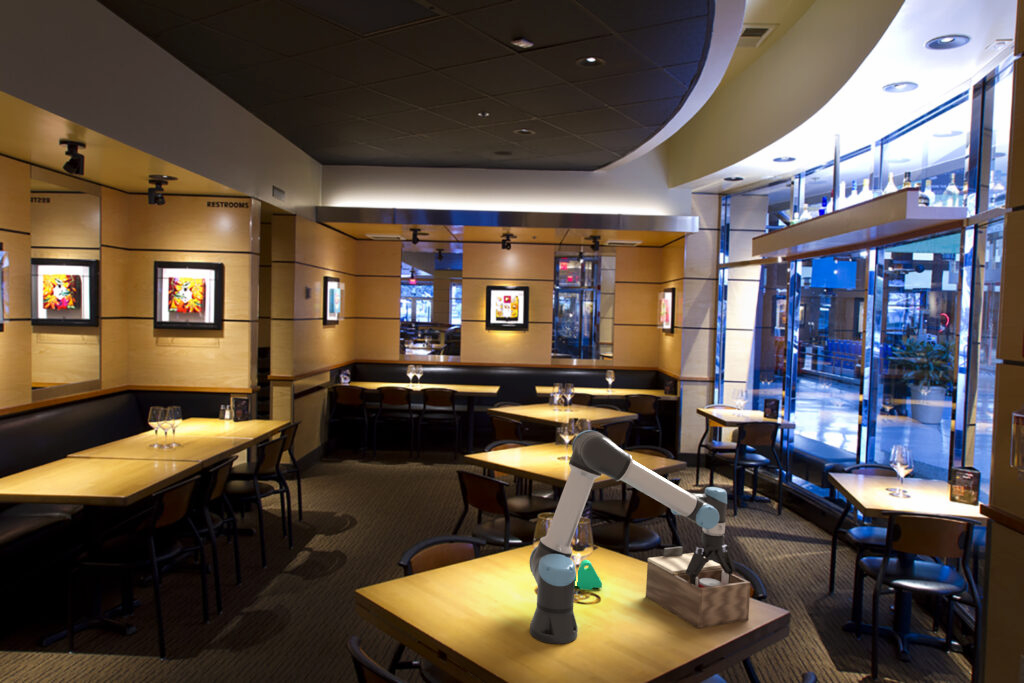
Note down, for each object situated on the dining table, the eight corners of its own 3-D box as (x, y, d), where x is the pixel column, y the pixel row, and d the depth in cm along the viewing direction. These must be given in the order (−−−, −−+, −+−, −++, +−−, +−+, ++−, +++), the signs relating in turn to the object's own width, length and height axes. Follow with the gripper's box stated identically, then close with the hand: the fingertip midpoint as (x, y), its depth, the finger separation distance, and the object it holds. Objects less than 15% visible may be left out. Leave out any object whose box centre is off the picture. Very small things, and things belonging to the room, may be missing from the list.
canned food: (714, 620, 224) (716, 588, 224) (693, 612, 230) (694, 581, 230) (724, 614, 230) (726, 582, 230) (703, 606, 235) (705, 576, 235)
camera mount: (598, 583, 256) (600, 556, 256) (601, 590, 248) (603, 563, 248) (567, 581, 256) (569, 555, 256) (569, 589, 248) (571, 561, 248)
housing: (697, 628, 219) (699, 589, 219) (645, 596, 244) (647, 561, 244) (748, 619, 228) (750, 582, 228) (693, 589, 254) (695, 555, 254)
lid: (672, 574, 231) (673, 562, 231) (647, 560, 244) (648, 549, 244) (721, 567, 241) (722, 556, 241) (695, 555, 254) (695, 544, 254)
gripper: (692, 538, 221) (688, 601, 221) (748, 533, 232) (744, 593, 232) (677, 531, 228) (673, 592, 228) (732, 527, 238) (728, 585, 239)
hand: (709, 593), depth 230 cm, fingers open, 13 cm apart
